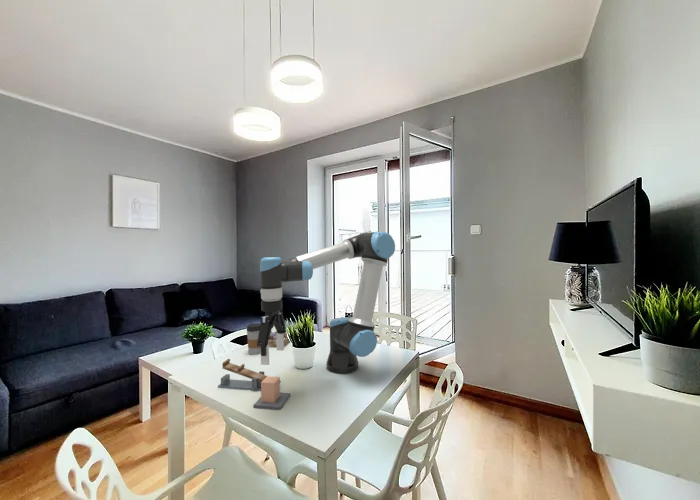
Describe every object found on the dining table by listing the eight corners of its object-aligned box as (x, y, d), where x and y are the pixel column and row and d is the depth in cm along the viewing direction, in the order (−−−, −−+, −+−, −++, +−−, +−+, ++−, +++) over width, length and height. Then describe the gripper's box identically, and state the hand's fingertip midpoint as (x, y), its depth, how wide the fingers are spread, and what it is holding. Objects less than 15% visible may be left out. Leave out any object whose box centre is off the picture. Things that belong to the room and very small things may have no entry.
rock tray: (293, 338, 182) (293, 333, 182) (283, 347, 166) (283, 341, 166) (274, 337, 184) (274, 332, 184) (262, 346, 168) (262, 340, 168)
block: (279, 395, 110) (279, 377, 110) (274, 402, 105) (274, 383, 105) (267, 394, 111) (267, 376, 111) (261, 401, 106) (261, 382, 106)
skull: (280, 347, 168) (280, 336, 168) (266, 347, 168) (266, 336, 167) (284, 340, 180) (284, 330, 180) (271, 340, 180) (271, 330, 179)
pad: (290, 395, 112) (290, 393, 112) (280, 410, 102) (280, 407, 102) (265, 393, 114) (265, 391, 114) (253, 407, 104) (253, 405, 104)
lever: (280, 382, 121) (282, 376, 121) (275, 388, 116) (277, 382, 116) (227, 363, 124) (229, 358, 124) (220, 369, 119) (222, 362, 119)
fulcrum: (275, 383, 122) (275, 372, 122) (268, 392, 115) (268, 379, 115) (226, 380, 126) (226, 369, 125) (217, 388, 119) (216, 376, 119)
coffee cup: (258, 356, 153) (257, 327, 153) (243, 355, 155) (243, 326, 155) (265, 350, 161) (265, 323, 161) (251, 349, 163) (251, 322, 163)
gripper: (275, 293, 121) (276, 344, 121) (245, 306, 96) (246, 370, 96) (293, 293, 120) (294, 345, 120) (266, 306, 95) (268, 371, 95)
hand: (273, 356), depth 108 cm, fingers open, 13 cm apart
